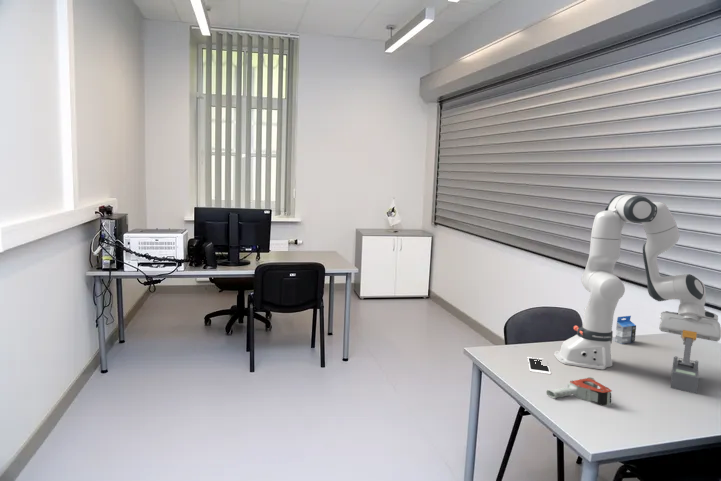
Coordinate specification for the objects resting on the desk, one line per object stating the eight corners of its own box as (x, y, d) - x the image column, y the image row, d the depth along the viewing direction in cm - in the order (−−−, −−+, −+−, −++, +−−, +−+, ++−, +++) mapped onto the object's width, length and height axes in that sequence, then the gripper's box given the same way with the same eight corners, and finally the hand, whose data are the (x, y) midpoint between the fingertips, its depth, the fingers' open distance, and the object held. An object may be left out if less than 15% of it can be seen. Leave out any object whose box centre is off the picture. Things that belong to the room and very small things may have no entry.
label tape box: (621, 344, 223) (624, 319, 222) (614, 341, 227) (617, 316, 225) (634, 342, 226) (637, 317, 225) (627, 339, 230) (630, 315, 228)
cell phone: (529, 372, 186) (529, 370, 186) (527, 358, 202) (527, 356, 201) (550, 375, 184) (551, 373, 184) (546, 360, 199) (546, 359, 199)
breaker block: (671, 370, 192) (674, 349, 191) (695, 376, 188) (698, 354, 187) (670, 387, 176) (673, 364, 175) (696, 393, 172) (699, 370, 170)
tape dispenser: (544, 402, 164) (609, 416, 153) (545, 387, 164) (609, 400, 153) (555, 382, 179) (615, 394, 168) (555, 369, 178) (615, 379, 167)
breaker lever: (677, 365, 183) (681, 331, 187) (693, 368, 180) (697, 334, 184) (678, 364, 181) (682, 329, 185) (693, 367, 178) (697, 332, 182)
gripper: (661, 306, 195) (657, 334, 189) (722, 315, 184) (720, 346, 177) (660, 314, 200) (656, 342, 193) (720, 324, 188) (718, 354, 182)
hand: (687, 344), depth 185 cm, fingers closed
